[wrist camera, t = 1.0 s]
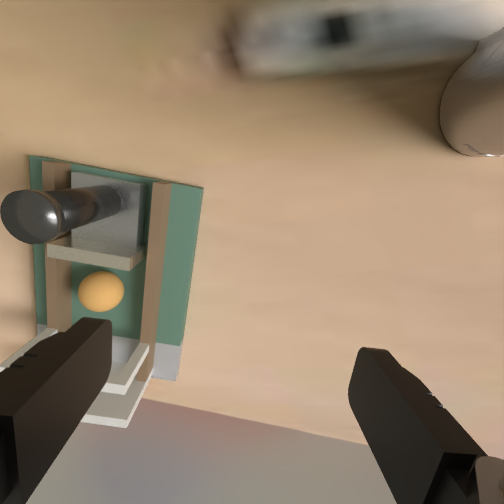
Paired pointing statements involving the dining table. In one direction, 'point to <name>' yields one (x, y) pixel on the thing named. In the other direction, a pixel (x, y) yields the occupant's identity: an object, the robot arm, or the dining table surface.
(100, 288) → the ball
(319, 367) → the dining table surface
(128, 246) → the slider
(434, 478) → the robot arm
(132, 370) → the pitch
